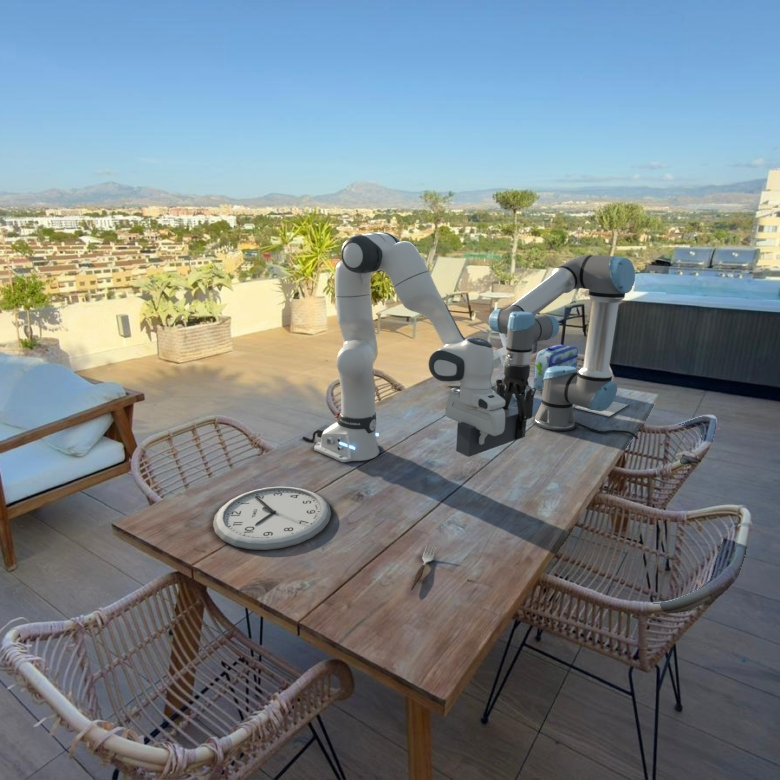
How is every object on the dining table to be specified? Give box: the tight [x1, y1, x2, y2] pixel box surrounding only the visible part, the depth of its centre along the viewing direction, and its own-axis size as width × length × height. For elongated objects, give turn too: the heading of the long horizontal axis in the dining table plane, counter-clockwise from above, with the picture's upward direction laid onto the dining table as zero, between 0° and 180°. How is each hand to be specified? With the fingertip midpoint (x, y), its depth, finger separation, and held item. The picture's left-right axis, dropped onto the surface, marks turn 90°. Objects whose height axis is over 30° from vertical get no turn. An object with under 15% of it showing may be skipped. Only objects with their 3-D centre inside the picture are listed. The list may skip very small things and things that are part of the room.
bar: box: [455, 406, 528, 458], centre depth 158 cm, size 26×5×9 cm, turn 128°
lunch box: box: [533, 344, 579, 392], centre depth 247 cm, size 26×11×21 cm, turn 134°
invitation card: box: [573, 400, 629, 418], centre depth 226 cm, size 21×1×15 cm
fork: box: [410, 542, 438, 591], centre depth 116 cm, size 3×16×2 cm, turn 160°
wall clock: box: [212, 486, 332, 551], centre depth 136 cm, size 30×2×30 cm
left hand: (472, 440), depth 153 cm, fingers closed on bar, 5 cm apart
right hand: (511, 435), depth 164 cm, fingers closed on bar, 5 cm apart
